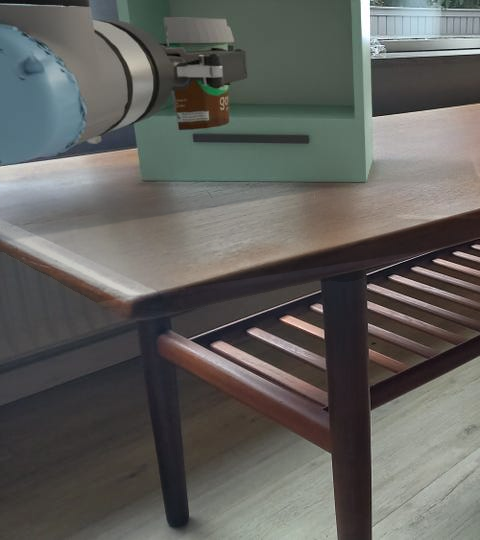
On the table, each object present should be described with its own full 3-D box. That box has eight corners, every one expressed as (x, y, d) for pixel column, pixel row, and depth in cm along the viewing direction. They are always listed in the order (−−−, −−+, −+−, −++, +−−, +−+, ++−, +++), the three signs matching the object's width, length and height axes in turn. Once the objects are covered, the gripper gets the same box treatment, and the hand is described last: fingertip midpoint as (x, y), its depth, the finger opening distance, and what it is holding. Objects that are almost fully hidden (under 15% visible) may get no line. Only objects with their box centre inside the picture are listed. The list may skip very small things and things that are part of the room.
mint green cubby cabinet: (366, 183, 89) (359, -28, 80) (139, 181, 86) (108, -37, 78) (373, 159, 104) (368, -20, 96) (181, 157, 102) (159, -27, 93)
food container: (248, 130, 66) (238, 20, 63) (179, 132, 64) (165, 18, 61) (234, 113, 77) (226, 18, 74) (175, 114, 75) (163, 16, 71)
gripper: (-27, 126, 50) (107, 93, 71) (241, 131, 52) (293, 97, 73) (-51, 15, 47) (96, 16, 69) (232, 24, 49) (288, 22, 71)
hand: (197, 58), depth 71 cm, fingers closed on food container, 6 cm apart
